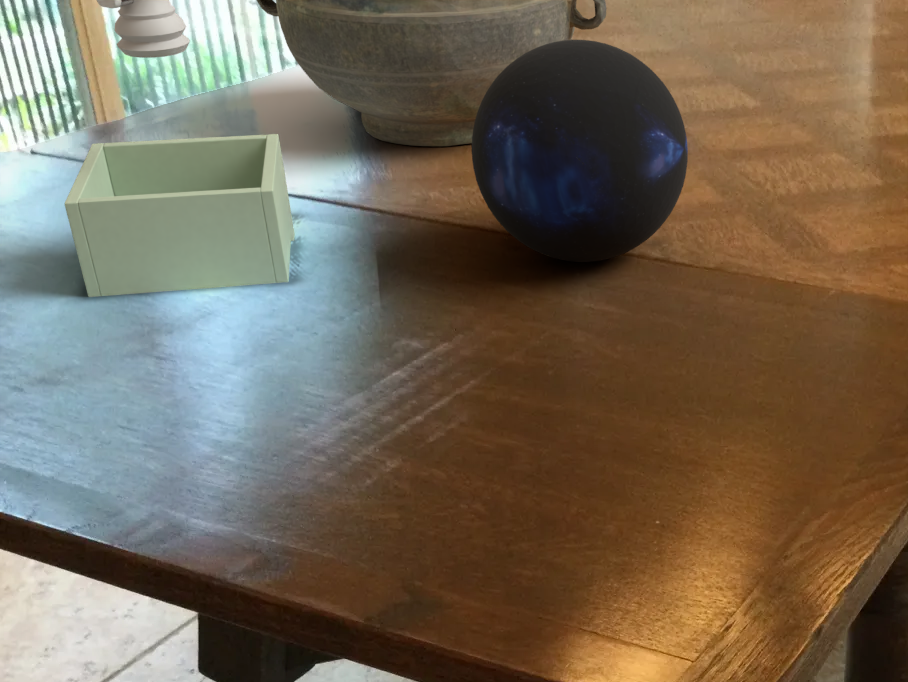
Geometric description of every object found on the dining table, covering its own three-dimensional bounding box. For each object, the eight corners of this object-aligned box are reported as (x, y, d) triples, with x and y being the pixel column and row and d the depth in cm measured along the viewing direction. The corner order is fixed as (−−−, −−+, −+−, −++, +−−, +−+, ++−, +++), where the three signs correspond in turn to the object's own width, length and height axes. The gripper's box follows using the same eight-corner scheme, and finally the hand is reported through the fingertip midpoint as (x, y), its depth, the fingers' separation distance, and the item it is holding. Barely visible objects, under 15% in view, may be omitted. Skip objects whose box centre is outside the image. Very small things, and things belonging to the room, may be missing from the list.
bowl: (213, 156, 116) (178, -29, 108) (329, 78, 138) (307, -80, 130) (577, 179, 113) (569, -10, 105) (637, 96, 135) (634, -66, 126)
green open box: (92, 315, 88) (63, 203, 84) (116, 246, 99) (91, 143, 94) (291, 300, 91) (273, 190, 87) (294, 234, 101) (278, 133, 97)
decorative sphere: (459, 290, 93) (437, 67, 85) (504, 215, 105) (489, 14, 97) (677, 299, 92) (676, 75, 84) (695, 223, 105) (697, 21, 96)
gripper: (197, -262, 86) (236, -32, 94) (-110, -250, 72) (-34, 22, 79) (267, -258, 84) (301, -21, 91) (-37, -244, 69) (34, 37, 76)
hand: (143, 0), depth 85 cm, fingers closed on rook chess piece, 3 cm apart
